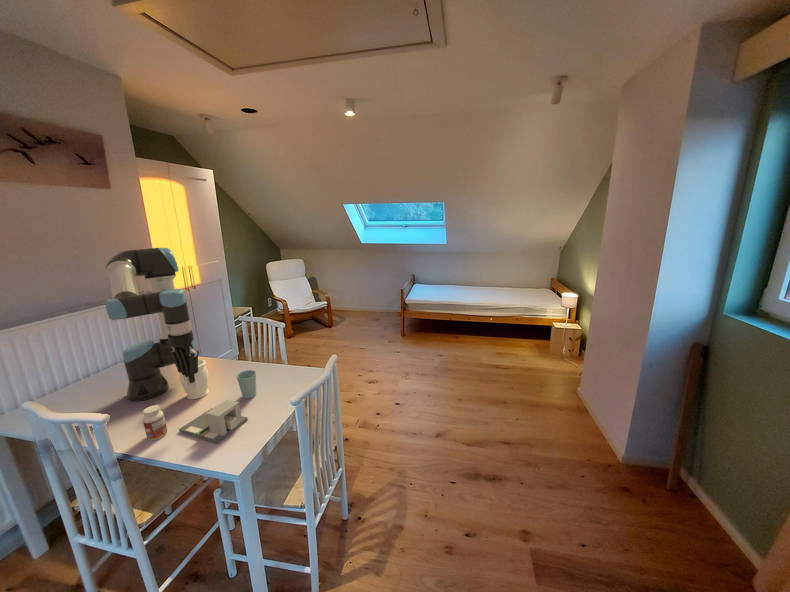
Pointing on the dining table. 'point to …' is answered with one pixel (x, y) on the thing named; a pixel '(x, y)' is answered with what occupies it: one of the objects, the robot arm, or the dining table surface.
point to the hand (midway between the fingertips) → (191, 389)
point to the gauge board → (204, 425)
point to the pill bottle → (154, 423)
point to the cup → (247, 383)
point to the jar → (198, 381)
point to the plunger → (229, 421)
